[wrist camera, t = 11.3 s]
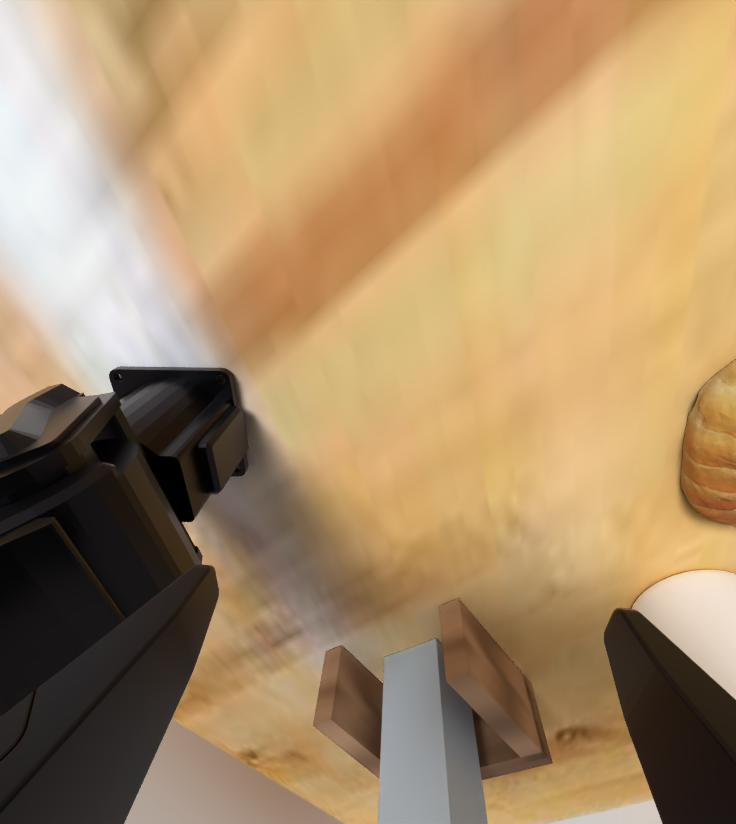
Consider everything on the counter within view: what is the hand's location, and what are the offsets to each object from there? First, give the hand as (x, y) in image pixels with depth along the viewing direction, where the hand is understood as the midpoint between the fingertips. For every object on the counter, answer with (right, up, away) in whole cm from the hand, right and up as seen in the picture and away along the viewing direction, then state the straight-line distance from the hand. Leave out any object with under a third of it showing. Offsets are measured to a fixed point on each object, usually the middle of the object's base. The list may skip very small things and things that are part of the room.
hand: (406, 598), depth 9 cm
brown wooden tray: (+4, -15, +22) cm, 27 cm away
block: (+4, -15, +22) cm, 27 cm away
